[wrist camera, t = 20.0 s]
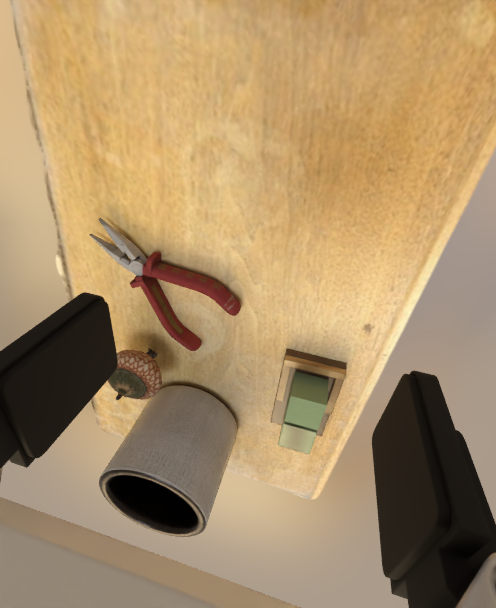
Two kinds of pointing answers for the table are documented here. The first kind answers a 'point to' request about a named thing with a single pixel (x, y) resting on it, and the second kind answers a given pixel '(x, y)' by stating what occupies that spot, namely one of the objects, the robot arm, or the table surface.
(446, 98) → the table surface
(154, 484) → the planter
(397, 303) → the table surface
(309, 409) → the block
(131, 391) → the acorn
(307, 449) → the brown wooden rectangular tray
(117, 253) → the pliers
